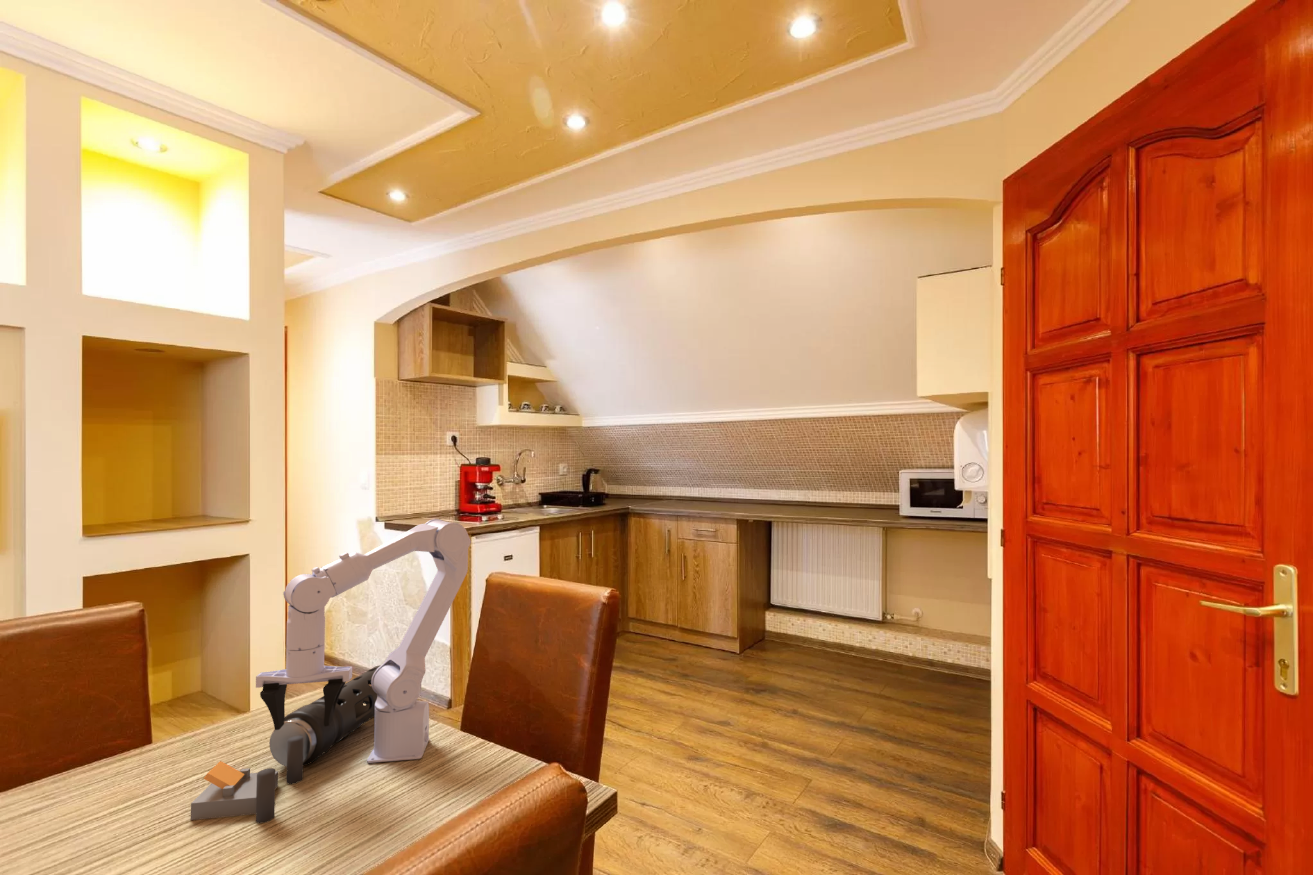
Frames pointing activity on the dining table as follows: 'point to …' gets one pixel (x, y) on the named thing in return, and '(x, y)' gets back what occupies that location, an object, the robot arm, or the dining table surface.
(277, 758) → the muzzle brake
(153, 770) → the dining table surface
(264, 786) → the cylinder
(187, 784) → the dining table surface
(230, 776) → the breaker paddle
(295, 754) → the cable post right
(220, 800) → the switch box
